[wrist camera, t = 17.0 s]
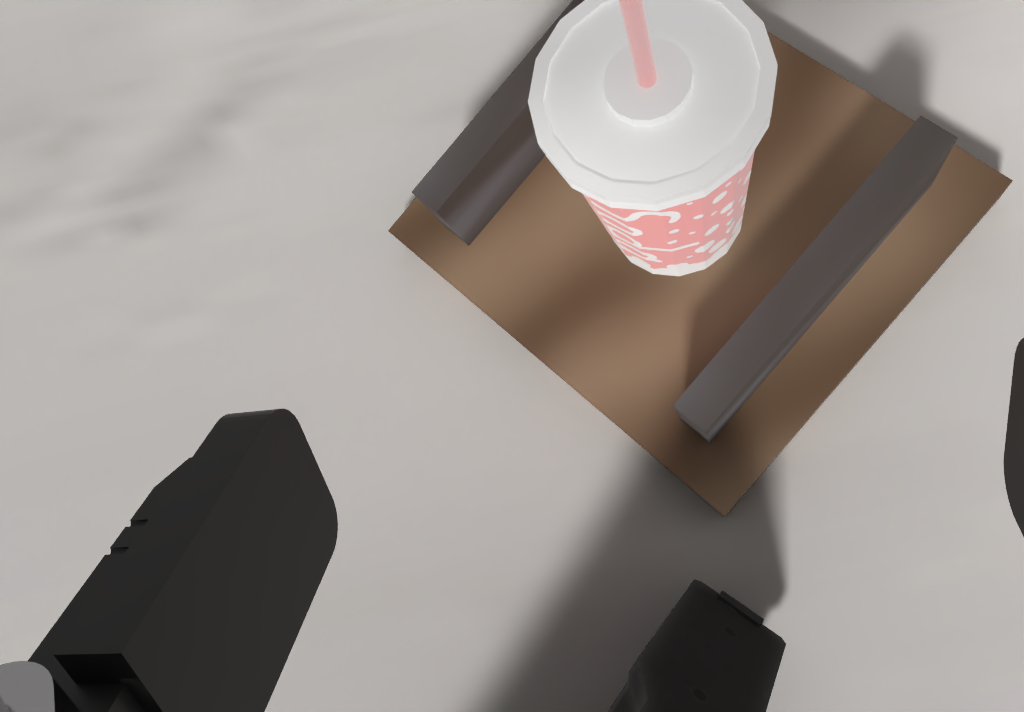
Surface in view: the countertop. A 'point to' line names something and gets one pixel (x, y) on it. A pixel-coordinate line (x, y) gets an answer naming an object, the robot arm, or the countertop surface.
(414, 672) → the countertop surface
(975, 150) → the countertop surface
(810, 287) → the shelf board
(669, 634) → the magazine
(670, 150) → the beverage cup
